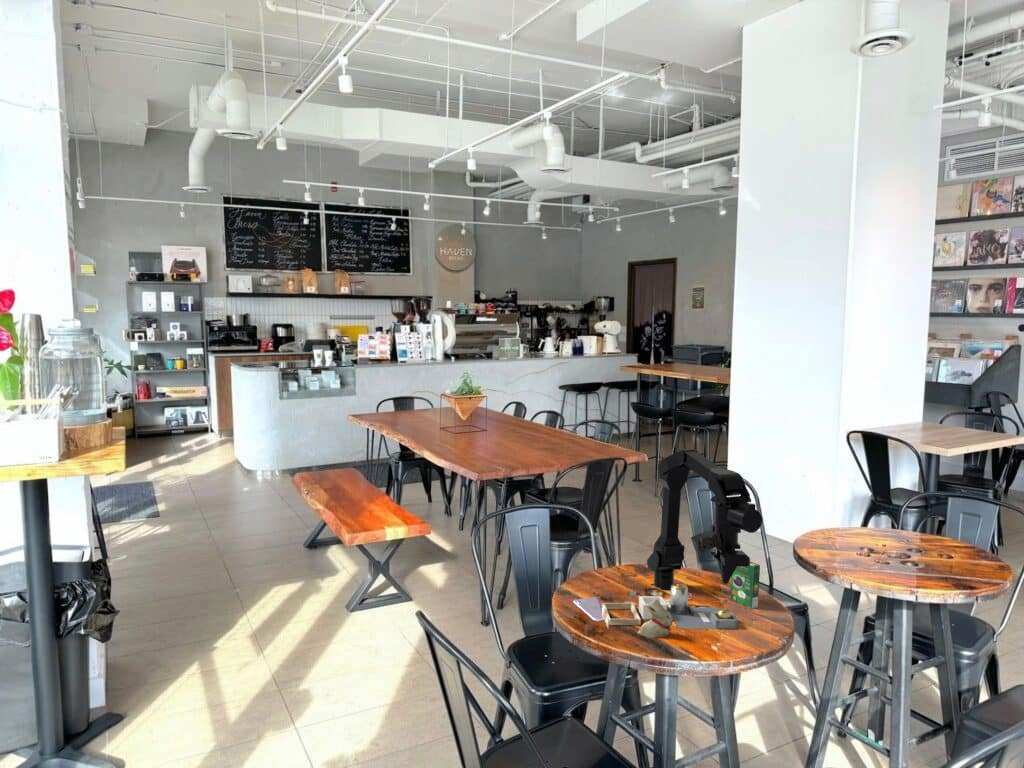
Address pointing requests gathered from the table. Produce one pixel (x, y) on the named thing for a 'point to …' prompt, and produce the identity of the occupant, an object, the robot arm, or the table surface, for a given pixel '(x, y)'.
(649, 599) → the cup
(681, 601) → the cylinder
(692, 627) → the grey board with socket
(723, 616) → the button
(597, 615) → the mobile phone
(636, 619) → the beige shallow rectangular frame
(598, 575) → the table surface
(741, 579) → the coffee box
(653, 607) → the chocolate bunny
